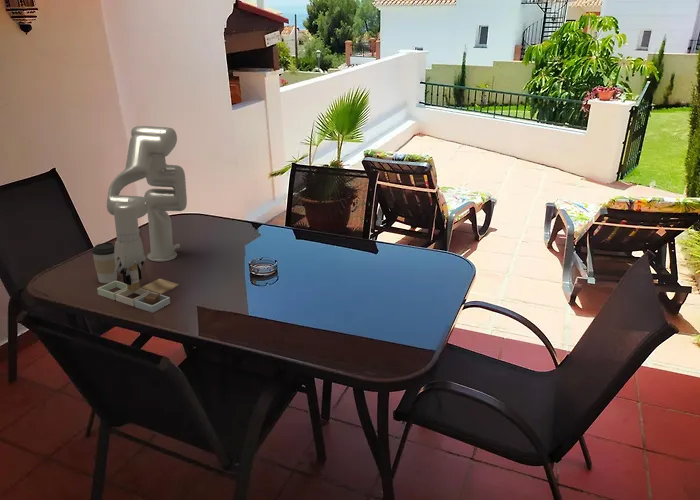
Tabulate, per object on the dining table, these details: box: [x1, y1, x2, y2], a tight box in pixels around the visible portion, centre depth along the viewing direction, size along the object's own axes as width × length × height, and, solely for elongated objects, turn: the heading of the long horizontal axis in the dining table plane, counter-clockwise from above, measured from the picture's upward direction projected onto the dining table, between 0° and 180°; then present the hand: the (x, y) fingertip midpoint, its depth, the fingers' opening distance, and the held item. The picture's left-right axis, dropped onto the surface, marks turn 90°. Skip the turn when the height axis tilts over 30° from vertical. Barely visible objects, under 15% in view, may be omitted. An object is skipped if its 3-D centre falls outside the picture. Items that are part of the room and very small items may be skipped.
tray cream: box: [115, 287, 151, 307], centre depth 195 cm, size 9×9×3 cm
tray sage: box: [96, 280, 127, 301], centre depth 198 cm, size 9×9×3 cm
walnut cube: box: [144, 293, 160, 305], centre depth 191 cm, size 4×4×4 cm
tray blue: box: [134, 292, 171, 314], centre depth 191 cm, size 9×9×3 cm
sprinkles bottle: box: [125, 261, 141, 291], centre depth 192 cm, size 5×5×13 cm
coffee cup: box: [91, 241, 118, 284], centre depth 207 cm, size 9×9×15 cm
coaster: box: [140, 278, 180, 295], centre depth 206 cm, size 10×10×1 cm
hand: (132, 280), depth 193 cm, fingers closed on sprinkles bottle, 4 cm apart
